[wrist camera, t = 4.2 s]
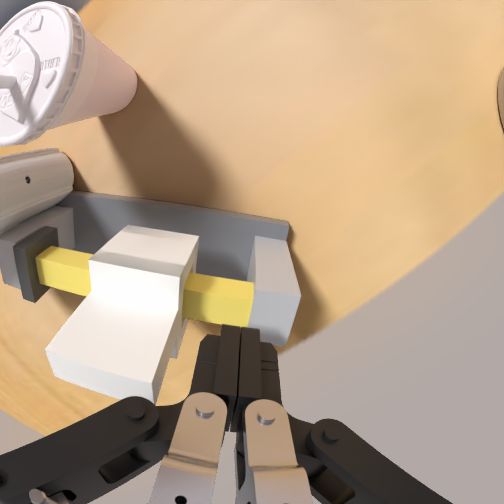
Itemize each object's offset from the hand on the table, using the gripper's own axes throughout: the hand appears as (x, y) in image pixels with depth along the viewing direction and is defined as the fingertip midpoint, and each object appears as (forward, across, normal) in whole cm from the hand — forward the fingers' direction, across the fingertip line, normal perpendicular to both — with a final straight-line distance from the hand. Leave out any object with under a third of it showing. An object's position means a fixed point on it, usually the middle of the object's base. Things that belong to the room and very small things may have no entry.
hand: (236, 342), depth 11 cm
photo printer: (+9, +18, -2) cm, 20 cm away
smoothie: (+9, +10, -10) cm, 17 cm away
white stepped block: (+5, +5, 0) cm, 7 cm away
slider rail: (+9, +6, 0) cm, 11 cm away
